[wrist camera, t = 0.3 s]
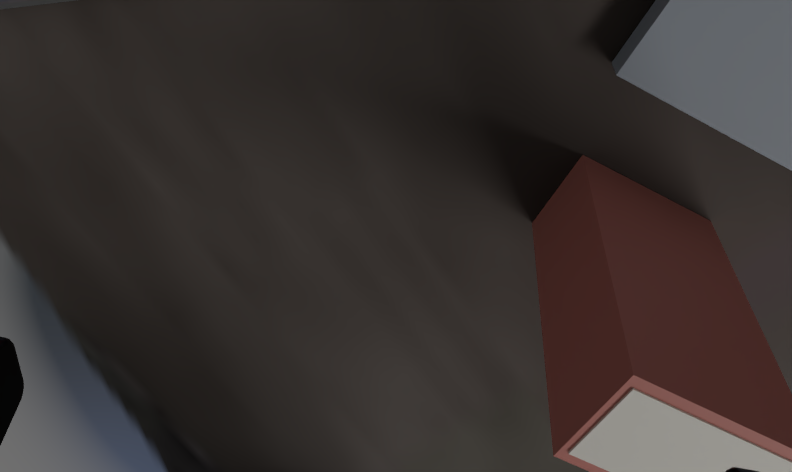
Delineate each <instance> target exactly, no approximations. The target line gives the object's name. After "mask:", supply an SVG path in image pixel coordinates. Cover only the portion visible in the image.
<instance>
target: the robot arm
mask: <svg viewBox="0 0 792 472" xmlns="http://www.w3.org/2000/svg"><path fill="white" fill-rule="evenodd" d="M23 389H24V383H23V377H22V374H21V370H20V366H19V362H18V358H17V354H16V351H15V347H14V344H13V343H12V342H11V341H10V340H9V339H7V338H4V337H0V445H1V443H2V441H3V438H4V436H5V434H6V432H7V429H8V427H9V425H10V423H11V421H12V418H13V416H14V414H15V412H16V410H17V407H18V405H19V402H20V400H21V398H22V394H23ZM725 472H759V471H754V470H749V469H743V468H737V467H732V468H730V469H728V470H726V471H725Z"/></svg>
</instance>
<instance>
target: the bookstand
mask: <svg viewBox="0 0 792 472" xmlns="http://www.w3.org/2000/svg"><path fill="white" fill-rule="evenodd" d="M612 65H613V68H614V70H615V73H616V75H617V76H619V77H621V78H622V79H624V80H626V81H628V82H630V83H632V84H633V85H635V86H637V87H639V88H641V89H643V90H644V91H646V92H648V93H650V94H652V95H654V96H655V97H657V98H659V99H661V100H663V101H665V102H666V103H668V104H670V105H672V106H674V107H676V108H677V109H679V110H681V111H683V112H685V113H687V114H688V115H690V116H692V117H694V118H696V119H698V120H699V121H701V122H703V123H705V124H707V125H709V126H711V127H712V128H714V129H716V130H718V131H720V132H722V133H723V134H725V135H727V136H729V137H731V138H733V139H734V140H736V141H738V142H740V143H742V144H744V145H745V146H747V147H749V148H751V149H753V150H755V151H756V152H758V153H760V154H762V155H764V156H766V157H767V158H769V159H771V160H773V161H775V162H777V163H778V164H780V165H782V166H784V167H786V168H788V169H789V170H791V171H792V0H655V2H654V3H653V5H652V6H651V7H650V9H649V10H648V12H647V13H646V15H645V16H644V17H643V19H642V20H641V22H640V23H639V24H638V26H637V27H636V29H635V30H634V32H633V33H632V34H631V36H630V37H629V39H628V40H627V41H626V43H625V44H624V46H623V47H622V49H621V50H620V51H619V53H618V54H617V56H616V57H615V58H614V60H613V61H612Z"/></svg>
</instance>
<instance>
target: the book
mask: <svg viewBox="0 0 792 472" xmlns="http://www.w3.org/2000/svg"><path fill="white" fill-rule="evenodd" d="M532 227H533V238H534V249H535V260H536V270H537V281H538V292H539V303H540V314H541V325H542V336H543V347H544V358H545V369H546V379H547V390H548V401H549V412H550V423H551V434H552V445H553V456H555V457H557V458H559V459H562V460H564V461H566V462H569V463H571V464H573V465H576V466H578V467H580V468H582V469H585V470H587V471H589V472H725V471H726V470H728V469H730V468H732V467H737V468H743V469H749V470H754V471H759V472H792V394H791V392H790V389H789V387H788V385H787V383H786V381H785V379H784V377H783V375H782V372H781V370H780V368H779V366H778V364H777V362H776V360H775V357H774V355H773V353H772V351H771V349H770V347H769V345H768V343H767V340H766V338H765V336H764V334H763V332H762V330H761V328H760V325H759V323H758V321H757V319H756V317H755V315H754V313H753V311H752V308H751V306H750V304H749V302H748V300H747V298H746V296H745V293H744V291H743V289H742V287H741V285H740V283H739V281H738V279H737V276H736V274H735V272H734V270H733V268H732V266H731V264H730V261H729V259H728V257H727V255H726V253H725V251H724V249H723V247H722V244H721V242H720V240H719V238H718V236H717V234H716V232H715V229H714V227H713V225H712V223H711V221H710V220H708V219H706V218H704V217H702V216H700V215H698V214H696V213H694V212H692V211H691V210H689V209H687V208H685V207H683V206H681V205H679V204H677V203H675V202H673V201H671V200H669V199H667V198H665V197H664V196H662V195H660V194H658V193H656V192H654V191H652V190H650V189H648V188H646V187H644V186H642V185H640V184H638V183H637V182H635V181H633V180H631V179H629V178H627V177H625V176H623V175H621V174H619V173H617V172H615V171H613V170H611V169H610V168H608V167H606V166H604V165H602V164H600V163H598V162H596V161H594V160H592V159H590V158H588V157H586V156H584V155H582V156H581V158H580V159H579V160H578V162H577V163H576V164H575V166H574V167H573V168H572V170H571V171H570V172H569V174H568V175H567V176H566V178H565V179H564V181H563V182H562V183H561V185H560V186H559V187H558V189H557V190H556V191H555V193H554V194H553V195H552V197H551V198H550V199H549V201H548V202H547V204H546V205H545V206H544V208H543V209H542V210H541V212H540V213H539V214H538V216H537V217H536V218H535V220H534V221H533V222H532Z"/></svg>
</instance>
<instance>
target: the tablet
mask: <svg viewBox="0 0 792 472" xmlns="http://www.w3.org/2000/svg"><path fill="white" fill-rule="evenodd" d="M67 1H75V0H0V9H8V8H17V7H25V6H33V5H42V4H50V3H58V2H67Z"/></svg>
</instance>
